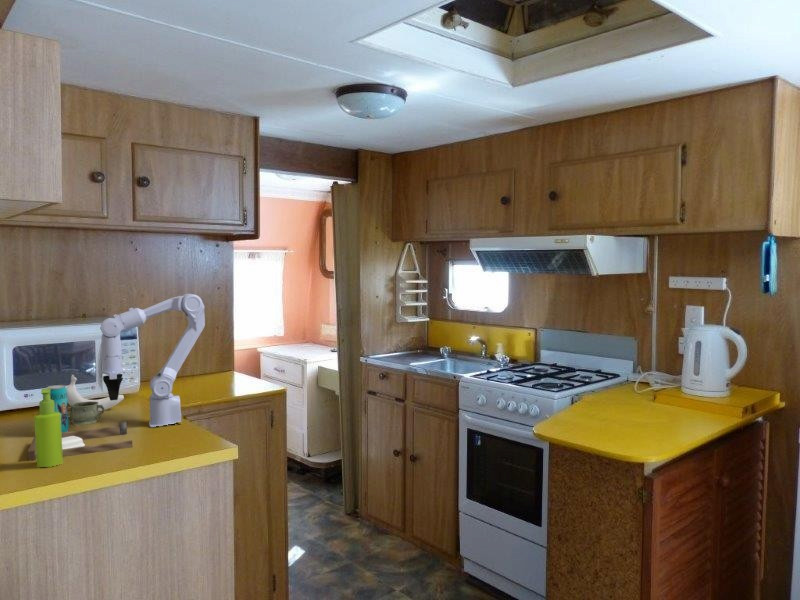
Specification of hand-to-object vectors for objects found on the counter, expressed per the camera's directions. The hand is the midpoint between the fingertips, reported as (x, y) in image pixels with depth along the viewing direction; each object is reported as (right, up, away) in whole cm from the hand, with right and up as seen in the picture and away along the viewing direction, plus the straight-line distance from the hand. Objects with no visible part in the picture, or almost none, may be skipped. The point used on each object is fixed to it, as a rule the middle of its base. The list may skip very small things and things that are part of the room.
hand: (113, 398), depth 195 cm
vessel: (-15, -10, +12) cm, 22 cm away
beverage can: (-15, -11, -4) cm, 19 cm away
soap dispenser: (0, -12, -35) cm, 37 cm away
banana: (-19, -9, +27) cm, 34 cm away
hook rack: (-1, -11, -17) cm, 20 cm away
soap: (-5, -12, -19) cm, 23 cm away
